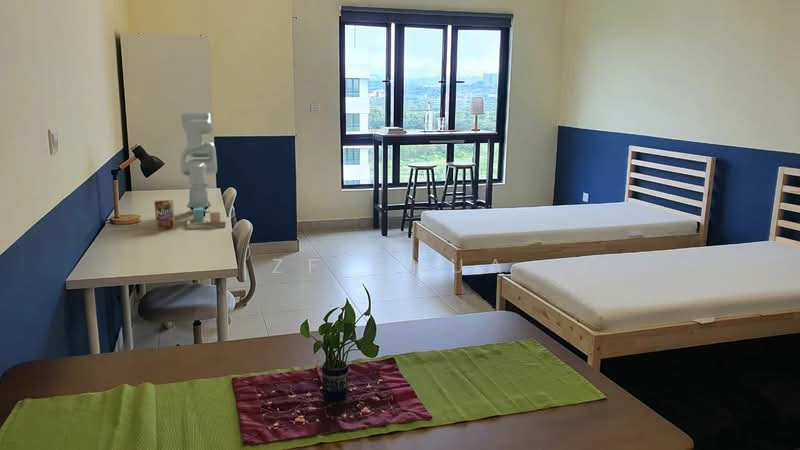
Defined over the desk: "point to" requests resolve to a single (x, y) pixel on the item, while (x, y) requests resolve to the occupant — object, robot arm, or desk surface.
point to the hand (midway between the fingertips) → (199, 217)
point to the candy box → (164, 214)
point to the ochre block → (215, 216)
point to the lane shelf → (206, 224)
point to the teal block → (198, 215)
